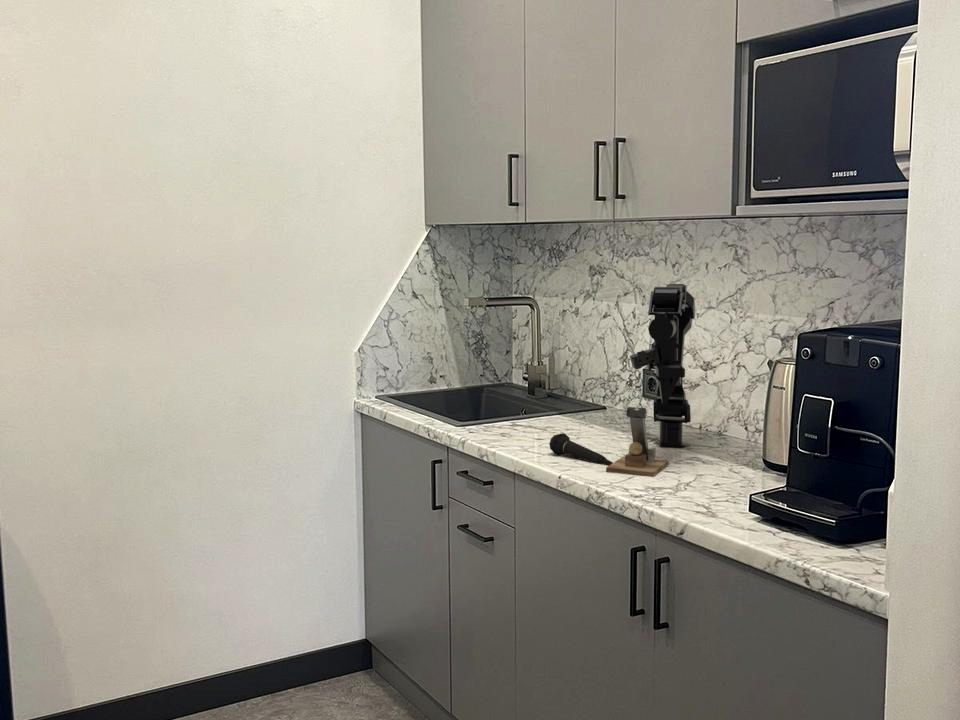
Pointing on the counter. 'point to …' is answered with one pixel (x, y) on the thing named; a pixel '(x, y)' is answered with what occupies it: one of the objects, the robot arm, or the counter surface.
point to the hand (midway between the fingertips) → (664, 403)
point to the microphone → (575, 450)
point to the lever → (639, 427)
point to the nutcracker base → (637, 471)
